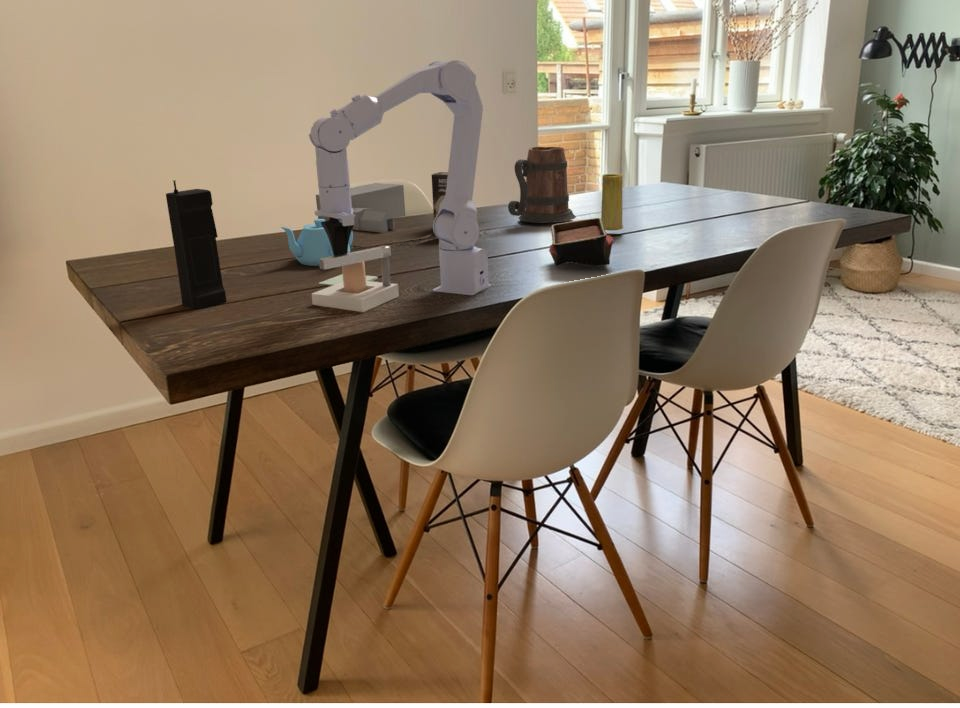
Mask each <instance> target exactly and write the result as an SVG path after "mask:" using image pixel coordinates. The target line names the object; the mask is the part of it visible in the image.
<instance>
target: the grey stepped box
mask: <svg viewBox="0 0 960 708" xmlns="http://www.w3.org/2000/svg"><path fill="white" fill-rule="evenodd" d="M404 188H405V187H404V184H396V183H379V182H378V183H377V182H374V183H370V184H369V183H368V184H365V185H364V184H363V185H359V186H354V187H350V192H351V204H352V208H353V215H356V216H355V217H354V227H353V229H352V231H353V230H356V231H363V232H364V231H367V232H371V233H372V232H373V233H380V234H382V233H387V232H388V231H389V230H391V231H395V230H396V229H395V225H396V224H395V219H396V218H401V217H405V216H406V204H405V190H404ZM315 203H316V211H319V210H320V209H321V207H320V197H319V193H318V194H315ZM317 219H325V221H328V220H330V219H329V217H326V216H317Z"/></svg>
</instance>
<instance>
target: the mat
mask: <svg viewBox="0 0 960 708" xmlns="http://www.w3.org/2000/svg"><path fill="white" fill-rule="evenodd" d="M378 279H379V276H375V275H374V276H373V275H366V281H372V282H375V281H376V280H378ZM341 282H343V274H342V273H341V274H339V275H336V276H334V277H331V278H328V279H325V280H324V281H323V280H322V281H320V282H318V285H323V286H329V287H330V286H333V285H335V284H338V283H341Z"/></svg>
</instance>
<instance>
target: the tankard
mask: <svg viewBox="0 0 960 708" xmlns="http://www.w3.org/2000/svg"><path fill="white" fill-rule="evenodd" d="M567 170H568V160H567V158H566V154H565V148H564V147H561V146H534V147H529V148H528V152H527V158H526V159H518V160H516V161H515V164H514V173H515V177H516V179H517V181H518V185H519V189H520V190H519V192H520V197H519V201H517V200H511V201H509V202H508V205H507V207H508V213H509V214H510V215H512V216H517V217H518V220H520V221H522V222H526V223H528V222H529V223H537V224H538V223H540V224H543V223H546V224H547V223H550V224H551V223H560V222H561V223H563V222H569V221H573V220H574V219H576V215H575V214H574V213H573V210H572V209H571V208H569V201H570V194H569V191H568V174H567V173H568V171H567ZM525 178H526V179H525Z"/></svg>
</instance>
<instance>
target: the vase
mask: <svg viewBox="0 0 960 708" xmlns="http://www.w3.org/2000/svg"><path fill="white" fill-rule="evenodd" d="M601 177H602V180H601V181H602V183H601V187H602V188H601V191H602V192H601V214H600V216H601V217H600V218H601V219H602V222H603V225H604V229H605V231H620V230H623V229H624V226H623V225H624V224H623V174H621V173H604V174H602V176H601Z"/></svg>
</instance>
